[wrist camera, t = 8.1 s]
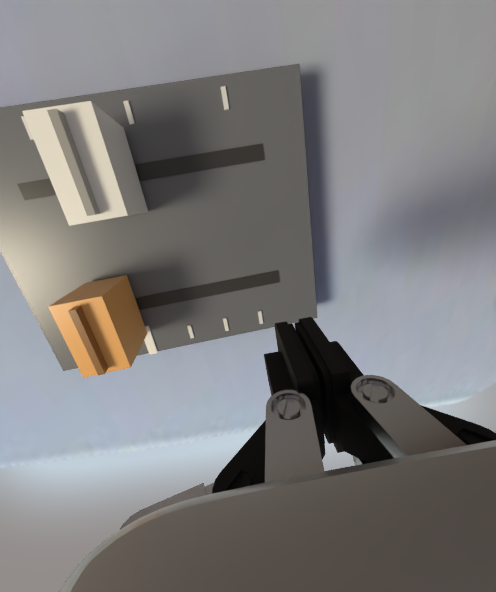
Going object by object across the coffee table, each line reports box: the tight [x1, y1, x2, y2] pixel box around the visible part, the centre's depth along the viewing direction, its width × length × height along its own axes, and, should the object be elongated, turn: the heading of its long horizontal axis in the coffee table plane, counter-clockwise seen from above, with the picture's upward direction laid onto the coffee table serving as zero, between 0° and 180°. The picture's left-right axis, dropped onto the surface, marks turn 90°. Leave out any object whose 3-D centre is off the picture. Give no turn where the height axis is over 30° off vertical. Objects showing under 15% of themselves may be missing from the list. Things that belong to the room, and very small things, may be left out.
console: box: [0, 64, 317, 371], centre depth 20 cm, size 22×18×2 cm
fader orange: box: [48, 275, 147, 377], centre depth 17 cm, size 3×5×5 cm, turn 9°
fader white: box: [22, 101, 148, 226], centre depth 14 cm, size 3×5×5 cm, turn 9°
